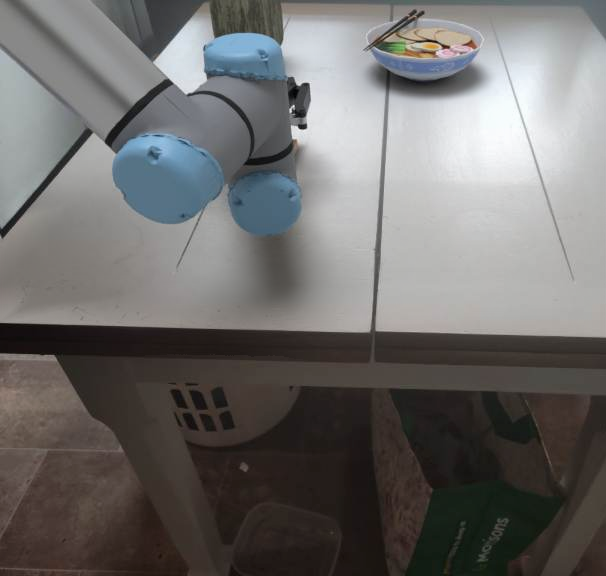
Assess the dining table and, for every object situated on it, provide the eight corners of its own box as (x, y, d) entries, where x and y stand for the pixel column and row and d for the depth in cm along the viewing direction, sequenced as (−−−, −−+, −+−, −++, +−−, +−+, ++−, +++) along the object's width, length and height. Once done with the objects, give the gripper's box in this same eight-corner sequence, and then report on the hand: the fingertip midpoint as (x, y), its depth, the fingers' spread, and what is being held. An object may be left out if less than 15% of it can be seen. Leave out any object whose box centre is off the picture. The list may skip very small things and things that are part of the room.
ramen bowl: (452, 110, 109) (455, 64, 104) (341, 86, 117) (339, 42, 111) (498, 64, 126) (503, 23, 121) (398, 46, 134) (399, 7, 128)
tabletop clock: (246, 58, 128) (227, -79, 111) (288, 61, 127) (275, -77, 110) (222, 86, 117) (197, -62, 101) (268, 89, 116) (250, -60, 100)
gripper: (170, 182, 75) (176, 107, 92) (347, 163, 79) (322, 94, 95) (156, 125, 70) (165, 57, 87) (345, 107, 74) (319, 45, 91)
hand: (247, 76), depth 91 cm, fingers closed on pump dispenser, 9 cm apart
